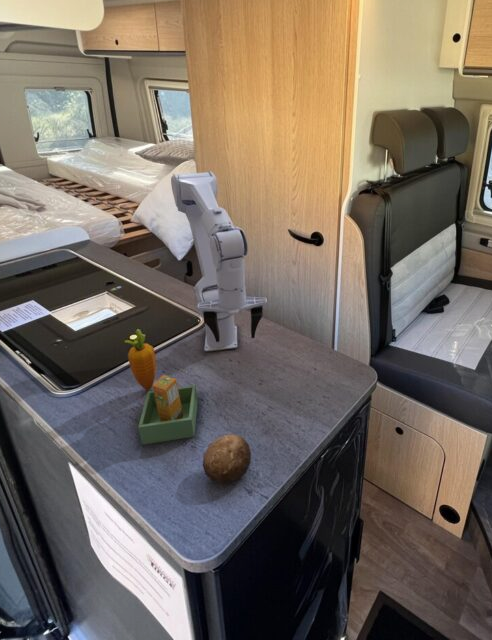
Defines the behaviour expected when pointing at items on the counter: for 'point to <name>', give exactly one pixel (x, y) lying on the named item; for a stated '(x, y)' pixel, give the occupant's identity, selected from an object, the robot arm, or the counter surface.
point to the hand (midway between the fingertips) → (235, 337)
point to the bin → (172, 429)
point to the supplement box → (167, 399)
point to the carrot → (142, 361)
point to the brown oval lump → (227, 459)
